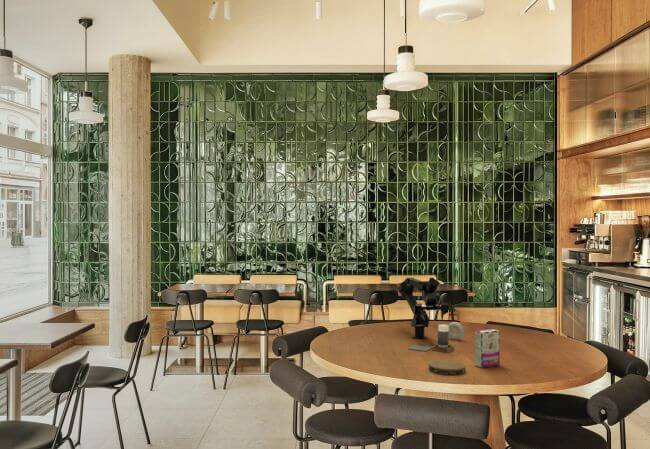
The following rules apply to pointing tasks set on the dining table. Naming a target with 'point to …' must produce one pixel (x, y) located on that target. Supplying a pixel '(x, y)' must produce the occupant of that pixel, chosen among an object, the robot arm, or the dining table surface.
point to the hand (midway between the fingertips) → (433, 319)
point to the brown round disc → (447, 367)
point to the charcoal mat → (420, 348)
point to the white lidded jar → (443, 335)
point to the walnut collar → (441, 349)
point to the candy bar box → (487, 348)
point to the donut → (459, 328)
